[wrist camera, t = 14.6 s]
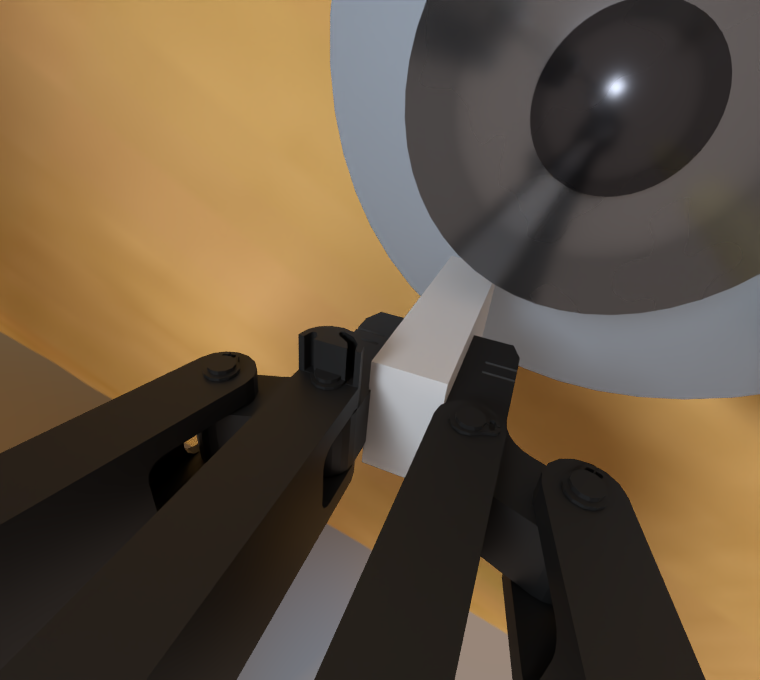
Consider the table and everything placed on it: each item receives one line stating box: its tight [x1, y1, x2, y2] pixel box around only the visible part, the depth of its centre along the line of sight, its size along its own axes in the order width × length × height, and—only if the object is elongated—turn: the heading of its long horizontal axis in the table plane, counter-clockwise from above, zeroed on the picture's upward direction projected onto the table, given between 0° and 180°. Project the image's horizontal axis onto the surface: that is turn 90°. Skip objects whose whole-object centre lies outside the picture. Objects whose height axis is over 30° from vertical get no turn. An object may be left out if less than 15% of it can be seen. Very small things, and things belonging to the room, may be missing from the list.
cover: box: [405, 0, 760, 315], centre depth 10 cm, size 8×8×5 cm
